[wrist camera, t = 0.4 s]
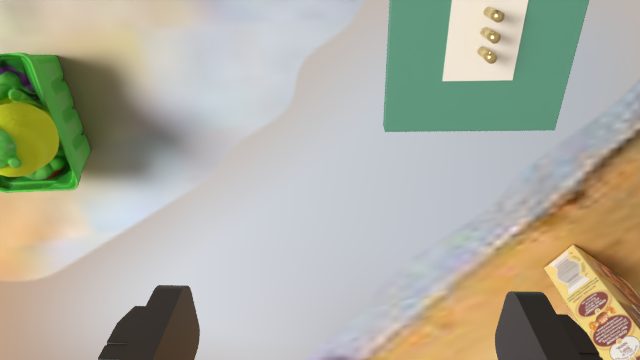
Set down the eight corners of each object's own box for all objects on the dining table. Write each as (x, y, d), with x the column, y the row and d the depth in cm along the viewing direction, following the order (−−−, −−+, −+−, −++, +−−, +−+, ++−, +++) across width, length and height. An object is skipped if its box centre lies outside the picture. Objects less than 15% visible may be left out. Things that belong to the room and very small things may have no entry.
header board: (394, -92, 29) (401, -96, 26) (603, -99, 29) (639, -103, 25) (383, 124, 37) (387, 144, 34) (546, 123, 37) (568, 142, 33)
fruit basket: (-23, 43, 35) (-162, 84, 25) (80, 37, 35) (-21, 76, 25) (32, 165, 41) (-64, 238, 31) (122, 161, 40) (52, 234, 30)
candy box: (540, 267, 45) (626, 408, 31) (573, 241, 43) (679, 378, 29) (597, 303, 47) (700, 449, 33) (630, 279, 45) (754, 423, 32)
